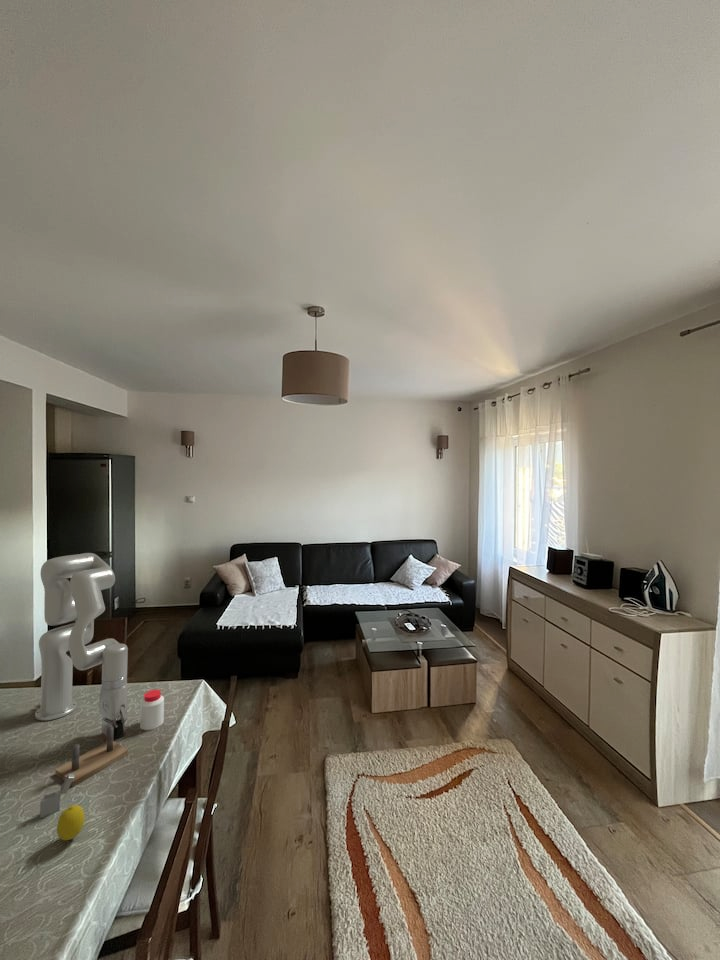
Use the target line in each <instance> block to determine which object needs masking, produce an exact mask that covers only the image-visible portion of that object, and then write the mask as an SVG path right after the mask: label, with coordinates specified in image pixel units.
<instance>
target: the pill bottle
mask: <svg viewBox="0 0 720 960" xmlns="http://www.w3.org/2000/svg"><path fill="white" fill-rule="evenodd" d="M139 707H140V710H139V711H140V712H139V713H140V714H139V728H140V729H141V730H144V731H151V730H155V729H157V728H159V727H161V726H162V725H163V724H164V721H165V714H164V713H165V697H164V696H163V695H162V690H159V689H152V690H148V691H146V692H145V693H144V694H143V699H141V701H140V705H139Z"/></svg>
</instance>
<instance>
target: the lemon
mask: <svg viewBox="0 0 720 960" xmlns="http://www.w3.org/2000/svg"><path fill="white" fill-rule="evenodd" d="M85 819H86V817H85V810H84V809H83V807H82V806H81V805H78V804H75V805H71V806H69V807H67V808H66V809H64V811H63V812H62V813H61V814H60V815H59V817H58V821H57V824H56V834H57V836H58V838H60V840H63V841H69V840H72V839H74V838H75V837H77V836H78V834H79V833H80V832H81V831H82V829H83V827H84V824H85Z"/></svg>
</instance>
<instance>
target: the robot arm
mask: <svg viewBox="0 0 720 960" xmlns="http://www.w3.org/2000/svg"><path fill="white" fill-rule="evenodd" d="M69 579H70V580H69ZM40 580H41V582H42V585H43V590H44V603H43V604H44V606H43V607H44V608H43V609H44V611H43V613H44V614H43V615H44V621H45V623H46V625H48V626H51V627H52V626H59V625H62V626H59V627H55V628H53V629H50V630H48V631H46V632H44V633H43V634H41V636H40V638H39V640H38V649H39V653H40V659H41V668H40V669H41V673H40V674H41V675H40V676H41V679H40V682H41V684H40V707H39V708H38V709H37V710H35V713H34V717H35V720H38V721H43V722H44V721H51V720H56V719H60V718H62V717H65V716H67V715H69V714H71V713H72V712H73V711H74V710H75V709H76V708H77V701H76V700H74V699H73V676H74V675H73V670H74V669H73V668H75V669H76V670H79V671H86V670H89V669H91V668H94V667H96V666H99V665H101V686H100V691H99V699H98V713H99V715H101V716H102V719H104V718H108V719H110V720H112V721H114V733H113V739H114V740H116V739H118V738H120V737H121V736H124V735H123V724H124V722H125V723H126V721H127V720H128V718H129V717H128V715H127V713H128V691H127V683H128V657H129V656H128V655H129V653H128V651H129V648H128V645H127V644H125V643H120V642H119V641H117V640H116V639H115V638H111V637H110V638H105V639H102V640H100V641H97V642H94V643H91V644H89V643H90V642H91V641H92V640H93V638H94V632H95V631H94V629H95V626H94V625H95V619H96V618H98V617H99V616H100V615H102V614H104V612H105V611H106V606H105V602H104V599H103V593H102V591H104V590H106V589H110V588H112V587H113V586H114V584H115V582H116V575H115V572H114V570H113V569H112V568H111V567H110V565H109V564H108V563H106V561H104V559H102V558H101V557H100V556H99V555H97V554H96V553H92V552H83V553H80V554H79V553H77V554H70V555H63V556H58V557H57V556H56V557H53V558H51V559H50V558H49V559H47V560H46V561H44V563H43V564H42V565H41V568H40ZM74 621H75V622H74ZM70 622H73V623H70ZM66 623H70V624H67V625H63V624H66ZM87 644H88V645H87ZM67 652H69V653H70V654H69V655H68V654H67ZM119 714H120V715H119ZM118 718H120V720H119V721H118V722H117V719H118Z"/></svg>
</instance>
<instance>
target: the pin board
mask: <svg viewBox="0 0 720 960" xmlns="http://www.w3.org/2000/svg"><path fill="white" fill-rule="evenodd" d="M113 733H114V727H109V728H107V740H106V741H105V742H104V743H102V744H100V745H98V746H97V747H95V748H93V749H91V750H89V751H87V752H85V753H84V754H82V755H80V744H79V743H75V744H73V745H72V747H71V760H70V761H68V762H66V763H64V764H62V765H60V766H59V767H57V768H55V773H54V774H55V775H56V776H57V777H58V778H60V779H61V780H62V779H63V780H62V781H63V782H64V781H65V779H66V778H67V776H68V774H74V779H73V781H72V783H71V785H70V787H72V788H74V787H75V786H77V785H79V784H80V783H82V782H84V781H86V780H87V779H89V778H91V777H92V776H94V775H96V774H98V773H99V772H101V771H103V770H104V769H106V768H108V767H109V766H111V765H113V764H114V763H116V762H118V761H120V760H121V759H123V758H125V757H126V756H128V755H129V749H127V748H125V747H124V746H122V745H120V744H119V743H118V742H115V740H113Z"/></svg>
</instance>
